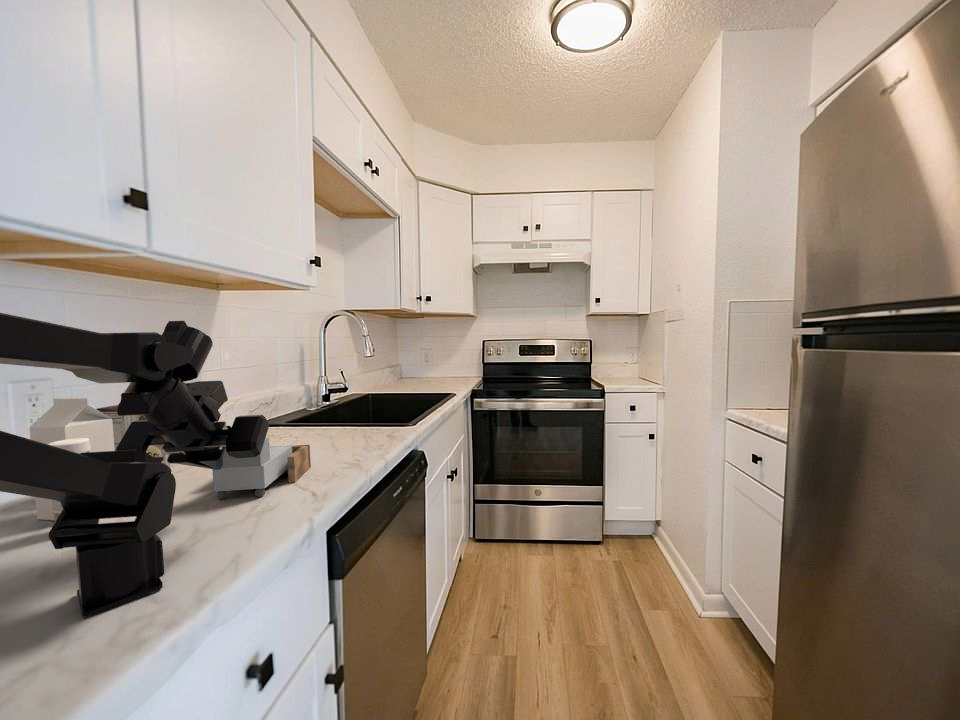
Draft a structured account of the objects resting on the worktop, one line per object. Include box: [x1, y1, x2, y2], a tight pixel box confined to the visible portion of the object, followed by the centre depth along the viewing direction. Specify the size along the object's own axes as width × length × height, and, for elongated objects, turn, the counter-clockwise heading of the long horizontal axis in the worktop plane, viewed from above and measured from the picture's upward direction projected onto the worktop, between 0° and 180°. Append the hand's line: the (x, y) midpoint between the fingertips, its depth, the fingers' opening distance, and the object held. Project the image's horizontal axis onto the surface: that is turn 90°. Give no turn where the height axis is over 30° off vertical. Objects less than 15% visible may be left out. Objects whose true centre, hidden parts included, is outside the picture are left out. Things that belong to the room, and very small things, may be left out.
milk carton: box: [29, 397, 115, 521], centre depth 69 cm, size 7×7×19 cm
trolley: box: [211, 437, 293, 500], centre depth 79 cm, size 15×8×10 cm, turn 6°
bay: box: [276, 444, 312, 484], centre depth 84 cm, size 10×14×5 cm
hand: (219, 466), depth 66 cm, fingers closed
